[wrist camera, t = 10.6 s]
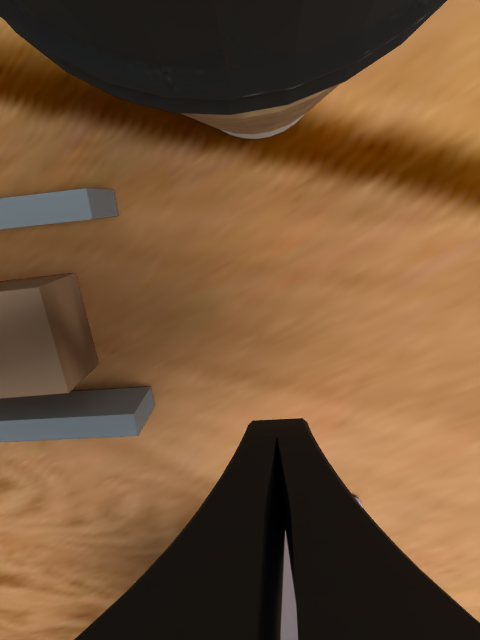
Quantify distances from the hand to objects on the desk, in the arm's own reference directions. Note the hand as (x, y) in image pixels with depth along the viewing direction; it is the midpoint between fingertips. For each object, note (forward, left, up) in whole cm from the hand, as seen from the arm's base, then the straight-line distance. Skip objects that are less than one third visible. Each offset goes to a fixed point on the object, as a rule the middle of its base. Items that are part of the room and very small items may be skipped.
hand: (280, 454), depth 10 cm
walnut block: (+1, +14, -11) cm, 17 cm away
